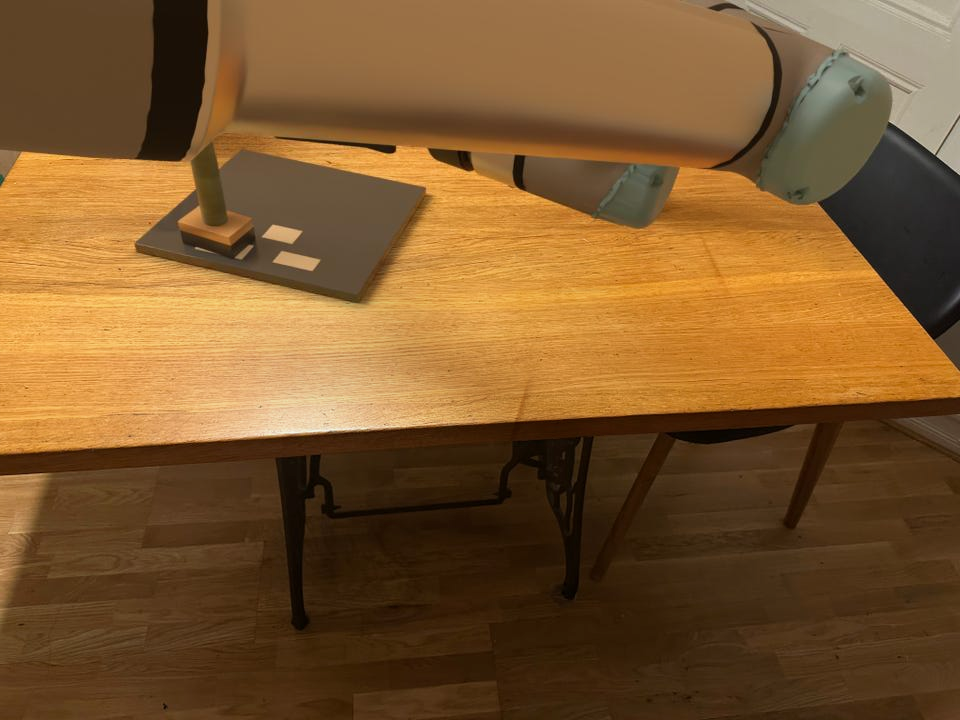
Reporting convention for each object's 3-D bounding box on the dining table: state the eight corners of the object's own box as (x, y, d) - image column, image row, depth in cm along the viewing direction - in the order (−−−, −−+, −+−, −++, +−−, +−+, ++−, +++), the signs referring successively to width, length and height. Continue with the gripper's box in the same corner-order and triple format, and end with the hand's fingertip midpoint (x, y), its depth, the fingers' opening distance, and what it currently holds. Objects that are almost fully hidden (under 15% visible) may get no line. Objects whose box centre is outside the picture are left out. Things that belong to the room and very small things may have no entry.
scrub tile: (136, 251, 83) (133, 242, 82) (242, 156, 102) (241, 148, 101) (358, 303, 80) (357, 294, 79) (425, 194, 98) (426, 186, 97)
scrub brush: (182, 242, 83) (153, 122, 73) (206, 224, 86) (182, 106, 76) (233, 258, 81) (210, 138, 71) (255, 239, 85) (237, 121, 74)
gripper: (401, 236, 51) (185, 149, 57) (545, 120, 67) (365, 63, 74) (402, 139, 46) (165, 55, 52) (558, 40, 62) (363, -15, 69)
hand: (282, 60), depth 63 cm, fingers open, 13 cm apart
